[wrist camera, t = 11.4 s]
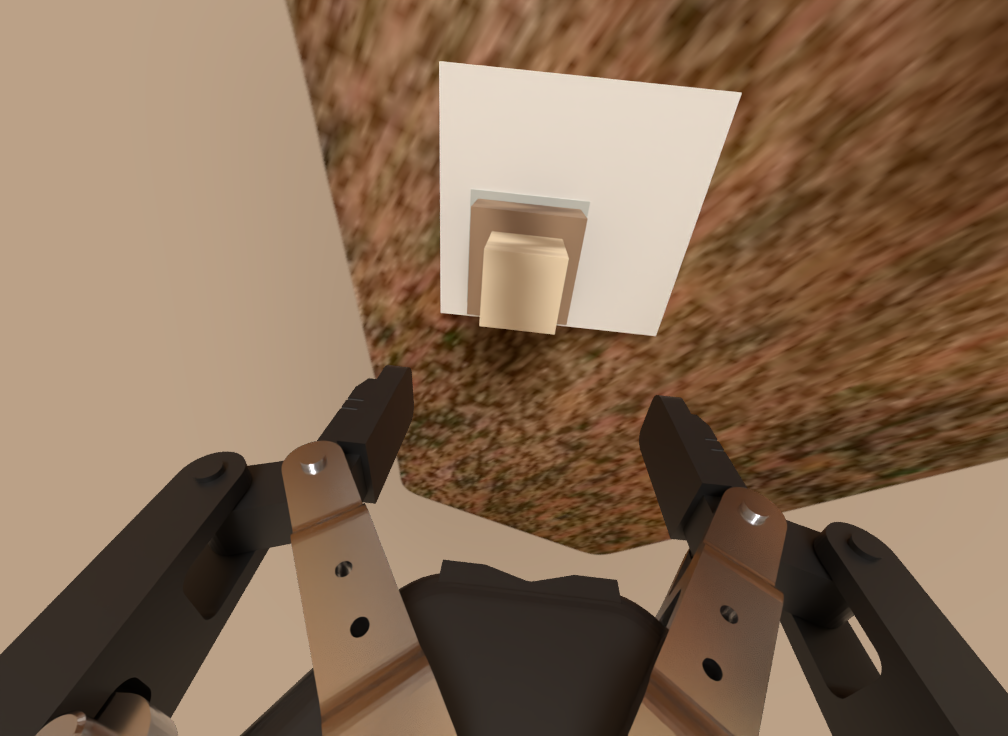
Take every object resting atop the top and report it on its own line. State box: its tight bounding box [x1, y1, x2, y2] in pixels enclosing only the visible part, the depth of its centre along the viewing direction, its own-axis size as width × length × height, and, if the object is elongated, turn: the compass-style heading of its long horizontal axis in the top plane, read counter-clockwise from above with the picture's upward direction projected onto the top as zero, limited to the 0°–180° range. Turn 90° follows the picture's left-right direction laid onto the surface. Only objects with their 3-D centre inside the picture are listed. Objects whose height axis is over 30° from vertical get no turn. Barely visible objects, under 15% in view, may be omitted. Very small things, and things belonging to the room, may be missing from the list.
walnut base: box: [467, 199, 588, 325], centre depth 28 cm, size 8×8×4 cm
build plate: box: [439, 61, 742, 336], centre depth 29 cm, size 20×18×1 cm
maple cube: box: [479, 231, 569, 335], centre depth 25 cm, size 5×5×5 cm
